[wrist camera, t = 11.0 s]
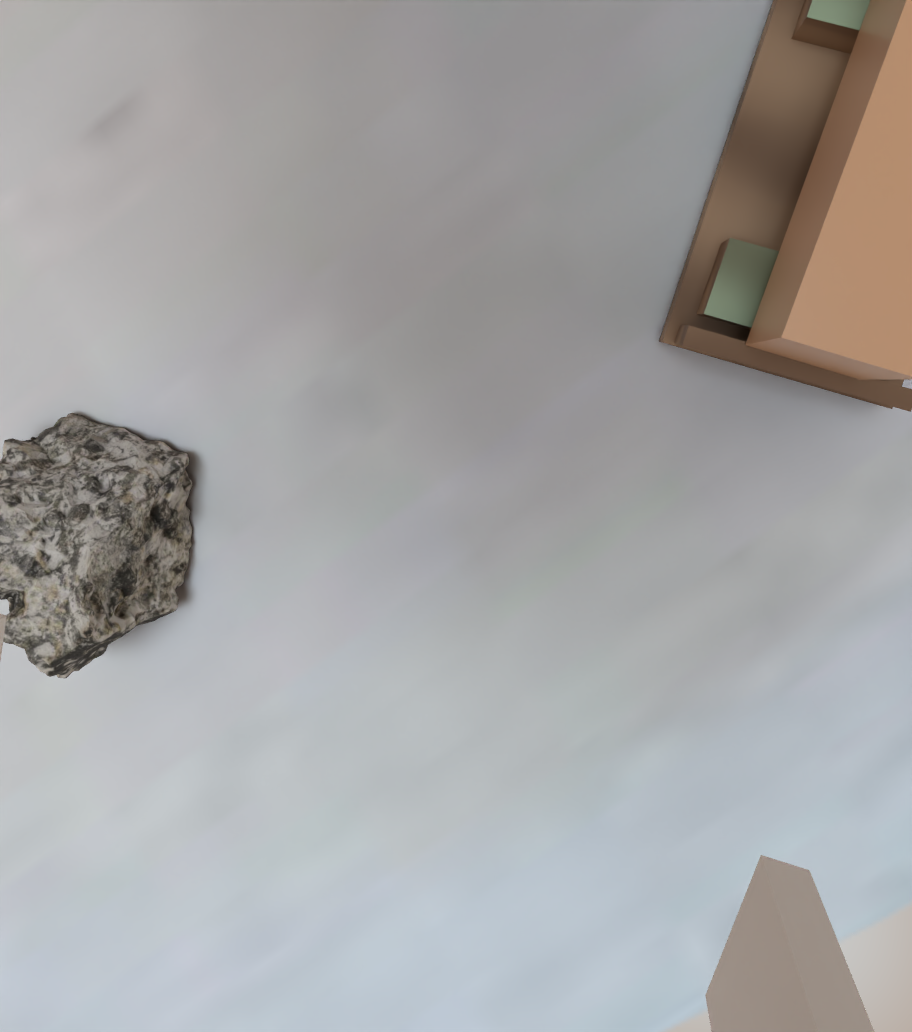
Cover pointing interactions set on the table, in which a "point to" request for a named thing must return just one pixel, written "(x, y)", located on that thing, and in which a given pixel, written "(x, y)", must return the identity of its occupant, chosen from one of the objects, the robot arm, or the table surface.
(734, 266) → the stand
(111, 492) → the rock
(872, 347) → the tan rectangular block
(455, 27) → the table surface
